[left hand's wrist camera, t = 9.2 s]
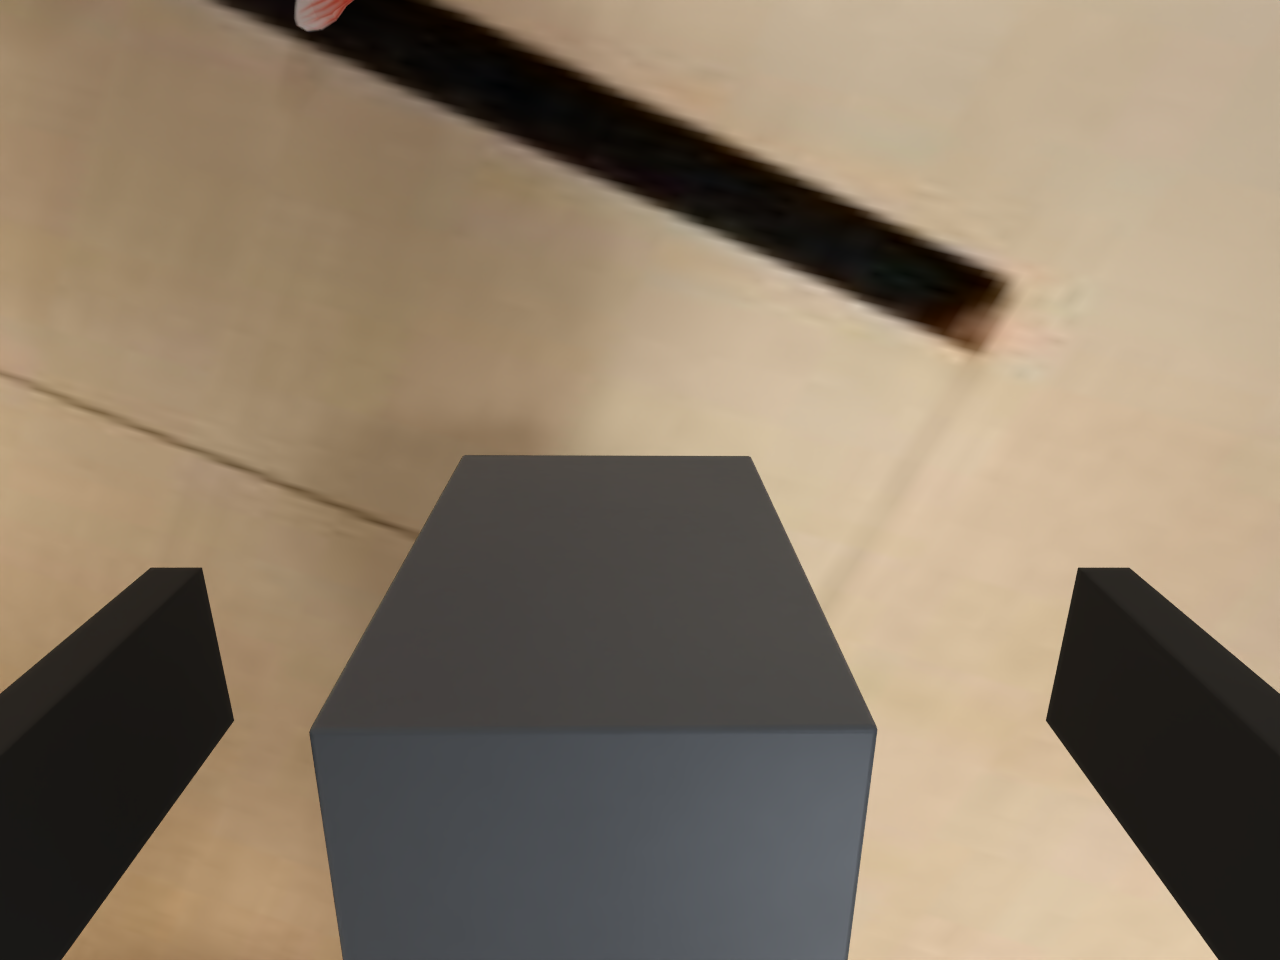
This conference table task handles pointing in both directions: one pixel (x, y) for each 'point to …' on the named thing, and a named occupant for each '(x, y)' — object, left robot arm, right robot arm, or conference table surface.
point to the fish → (318, 13)
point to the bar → (596, 728)
